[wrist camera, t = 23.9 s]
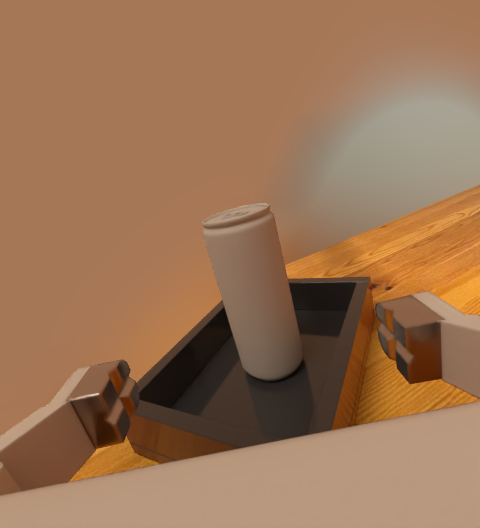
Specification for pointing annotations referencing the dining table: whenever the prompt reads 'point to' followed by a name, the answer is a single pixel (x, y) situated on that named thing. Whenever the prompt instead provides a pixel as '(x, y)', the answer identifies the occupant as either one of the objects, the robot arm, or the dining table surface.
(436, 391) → the dining table surface
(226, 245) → the beverage can
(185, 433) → the dark shallow tray
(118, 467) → the dining table surface
